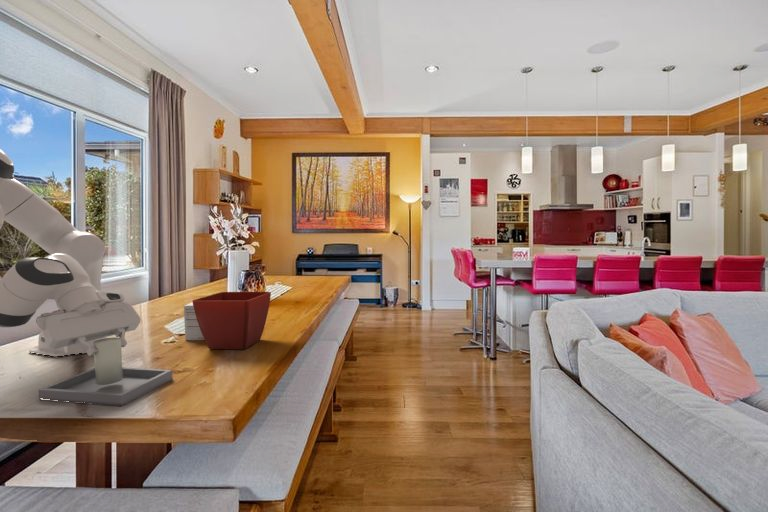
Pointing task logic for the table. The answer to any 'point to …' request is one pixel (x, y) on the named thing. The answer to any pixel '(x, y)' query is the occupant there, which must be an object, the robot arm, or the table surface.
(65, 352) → the robot arm
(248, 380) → the table surface
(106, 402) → the grey tray
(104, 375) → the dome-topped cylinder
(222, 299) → the plant pot
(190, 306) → the supplement box
